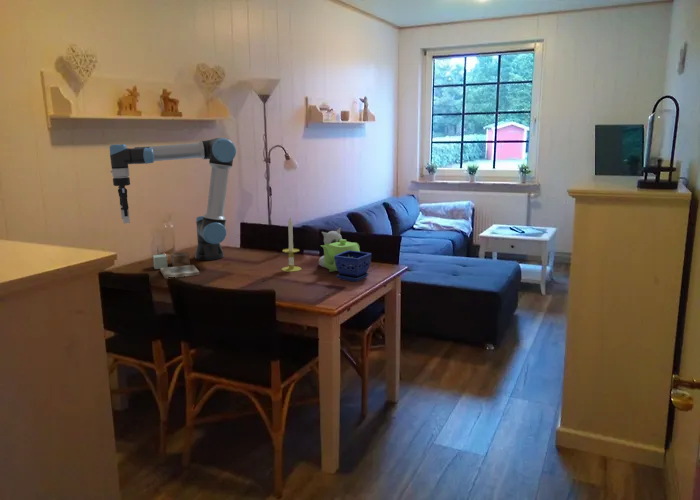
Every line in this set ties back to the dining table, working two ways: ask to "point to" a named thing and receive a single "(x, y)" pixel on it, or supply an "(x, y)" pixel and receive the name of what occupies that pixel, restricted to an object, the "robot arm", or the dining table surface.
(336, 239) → the decorative figurine
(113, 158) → the robot arm
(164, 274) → the build board
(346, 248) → the teapot
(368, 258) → the flower pot
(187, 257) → the walnut block
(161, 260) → the sage cube
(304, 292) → the dining table surface
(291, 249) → the candle
